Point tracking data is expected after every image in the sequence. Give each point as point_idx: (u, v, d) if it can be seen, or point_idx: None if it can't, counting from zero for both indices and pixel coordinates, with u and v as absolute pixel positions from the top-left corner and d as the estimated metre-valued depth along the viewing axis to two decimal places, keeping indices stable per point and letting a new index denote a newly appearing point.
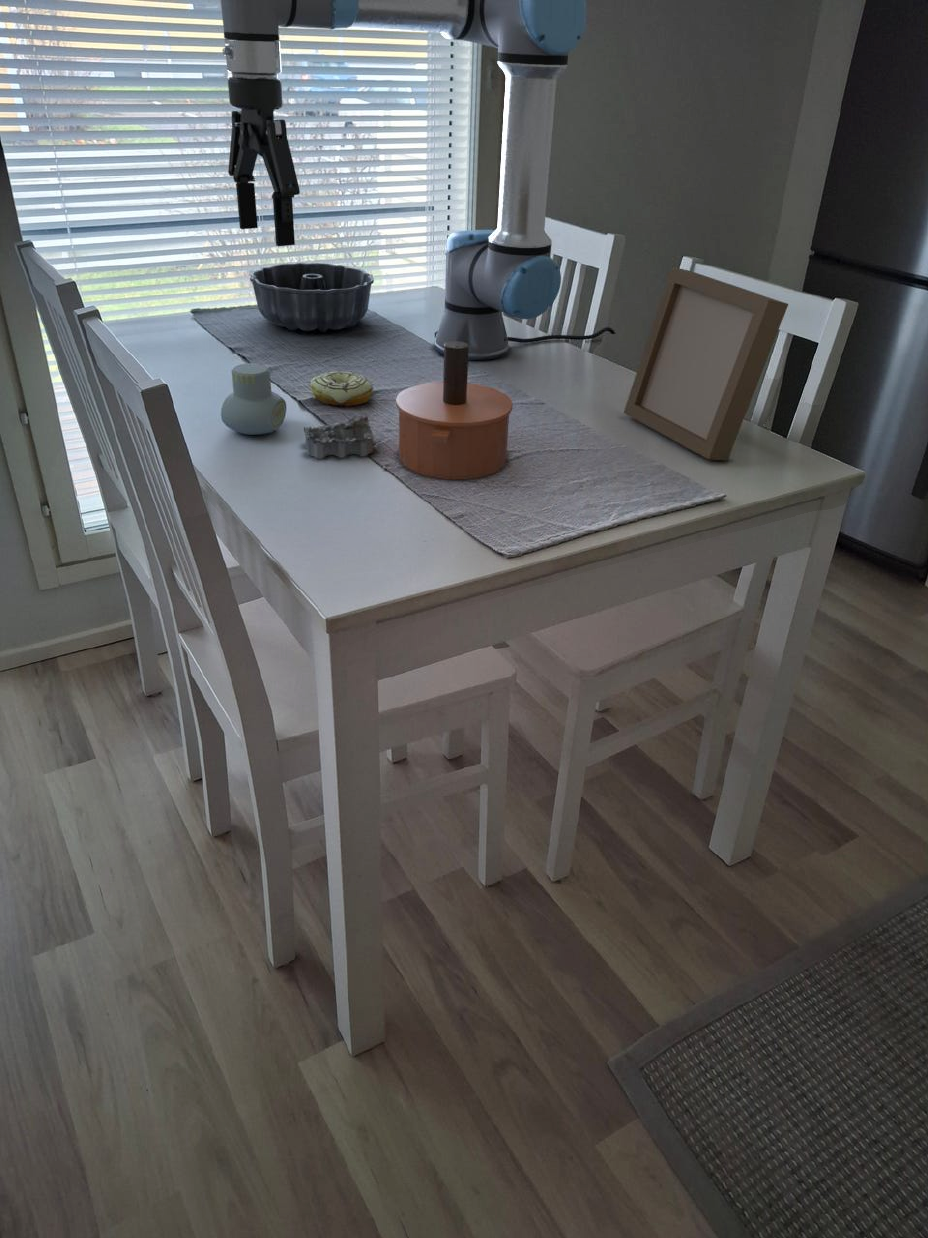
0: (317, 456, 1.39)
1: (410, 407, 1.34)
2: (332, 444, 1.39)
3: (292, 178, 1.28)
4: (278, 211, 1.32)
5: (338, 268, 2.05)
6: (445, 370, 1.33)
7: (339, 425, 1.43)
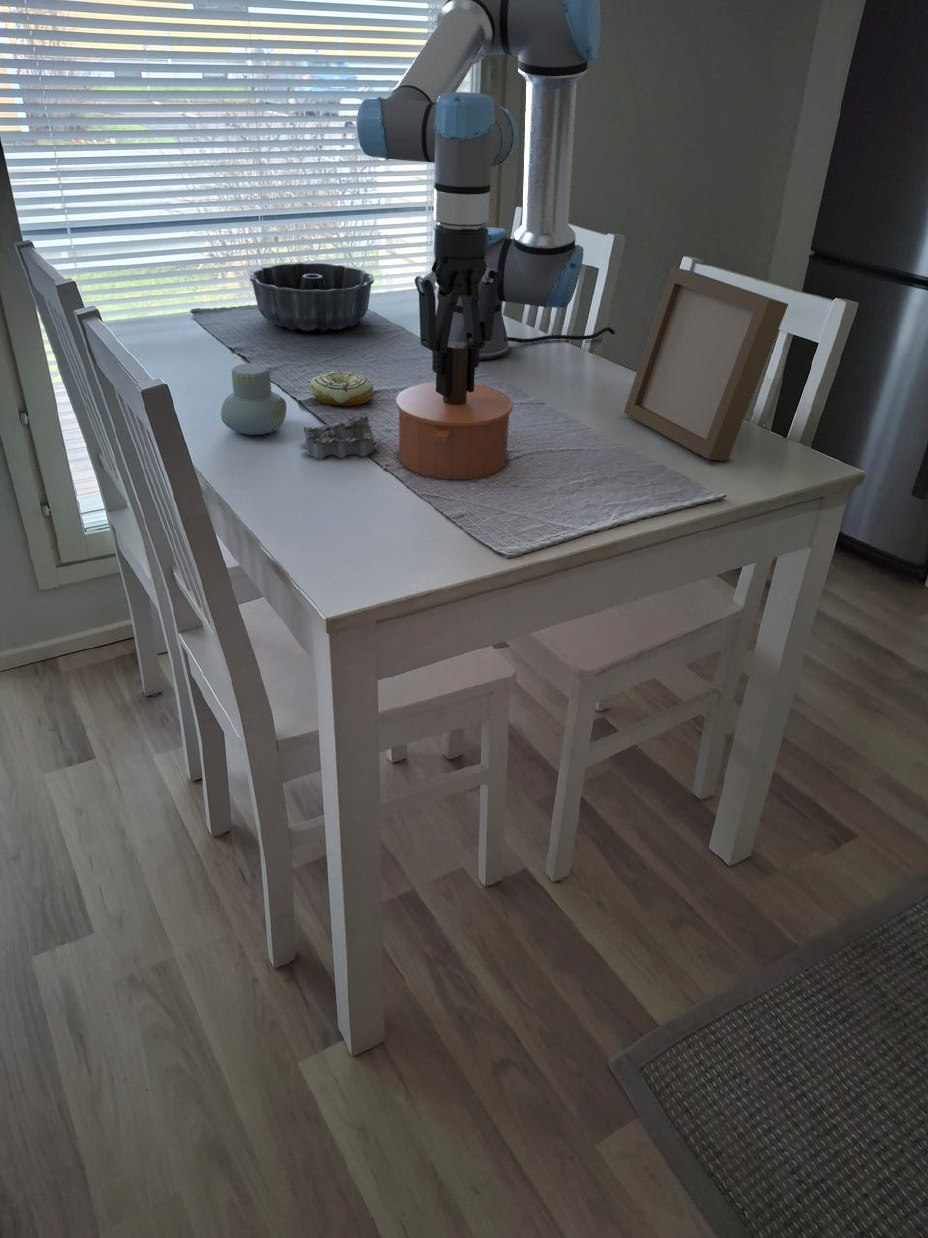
0: (317, 456, 1.39)
1: (410, 407, 1.34)
2: (332, 444, 1.39)
3: (426, 335, 1.28)
4: None
5: (338, 268, 2.05)
6: None
7: (339, 425, 1.43)
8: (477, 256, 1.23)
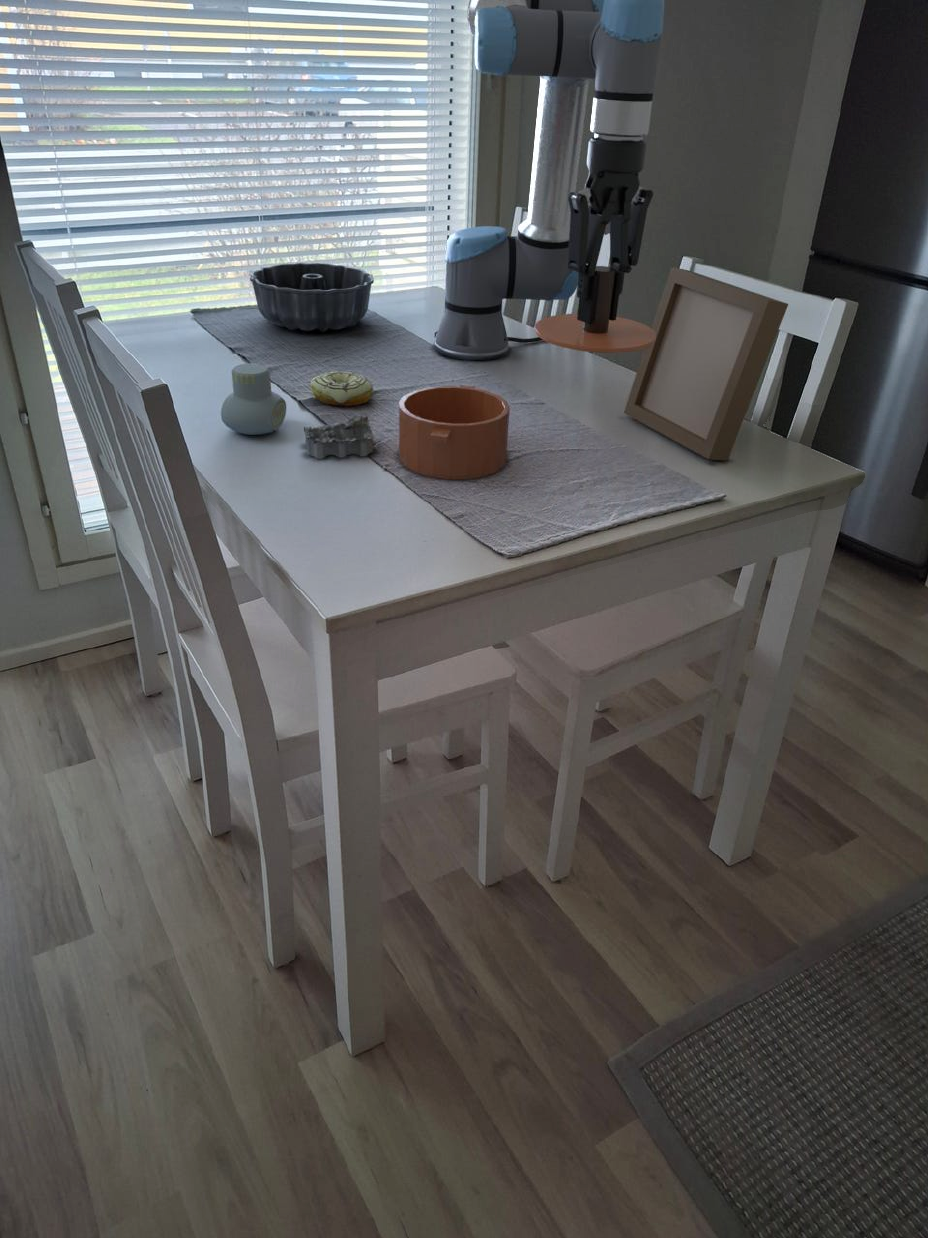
0: (317, 456, 1.39)
1: (552, 334, 1.28)
2: (332, 444, 1.39)
3: (576, 256, 1.23)
4: None
5: (338, 268, 2.05)
6: None
7: (339, 425, 1.43)
8: (636, 170, 1.17)
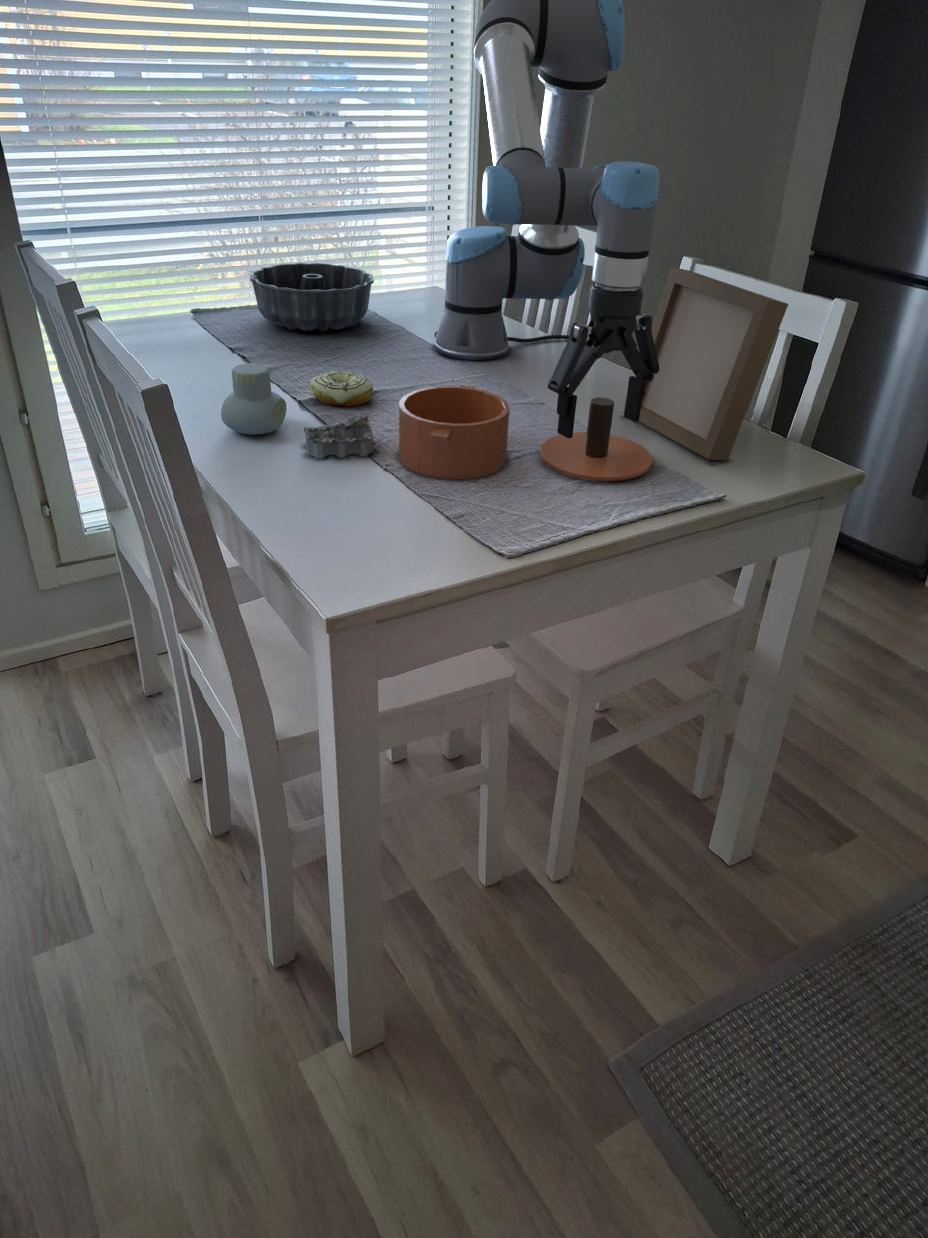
0: (317, 456, 1.39)
1: (556, 461, 1.39)
2: (332, 444, 1.39)
3: (559, 378, 1.30)
4: None
5: (338, 268, 2.05)
6: (590, 425, 1.39)
7: (339, 425, 1.43)
8: (633, 316, 1.28)
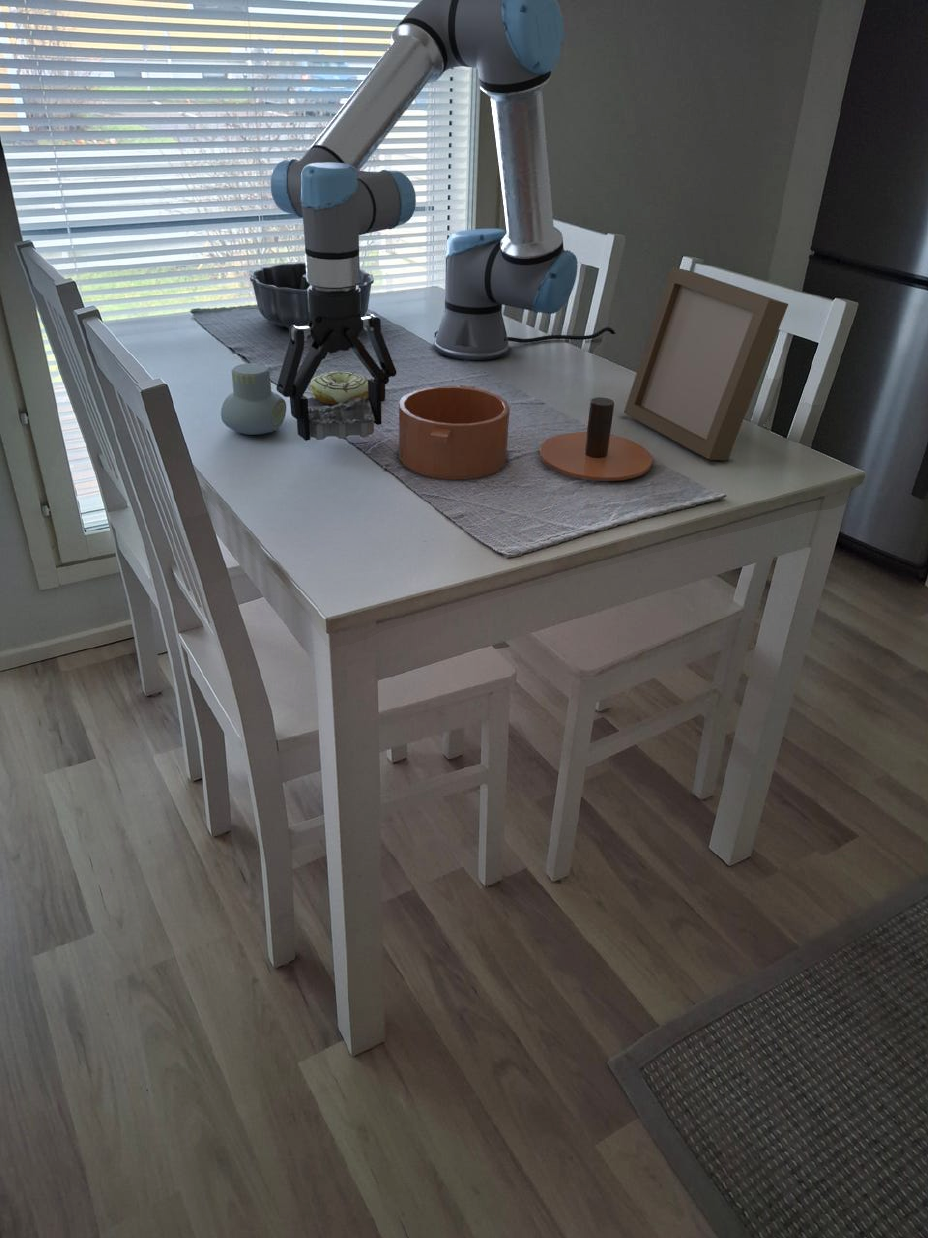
0: (317, 437, 1.37)
1: (556, 461, 1.39)
2: (332, 425, 1.38)
3: (284, 381, 1.31)
4: None
5: None
6: (590, 425, 1.39)
7: (339, 406, 1.42)
8: (349, 316, 1.28)
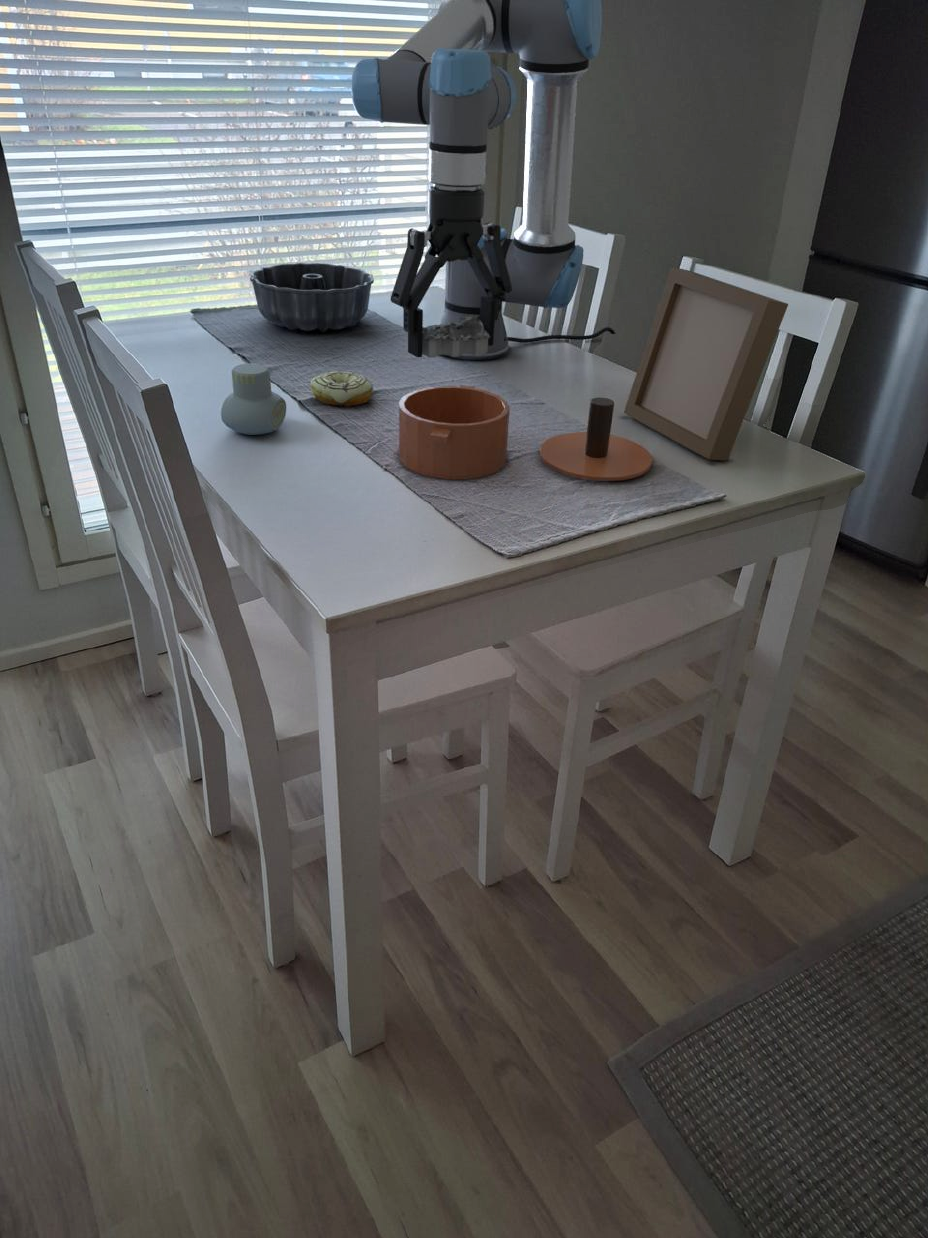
0: (429, 354, 1.29)
1: (556, 461, 1.39)
2: (445, 342, 1.30)
3: (400, 289, 1.23)
4: None
5: (338, 268, 2.05)
6: (590, 425, 1.39)
7: (449, 325, 1.34)
8: (473, 218, 1.20)
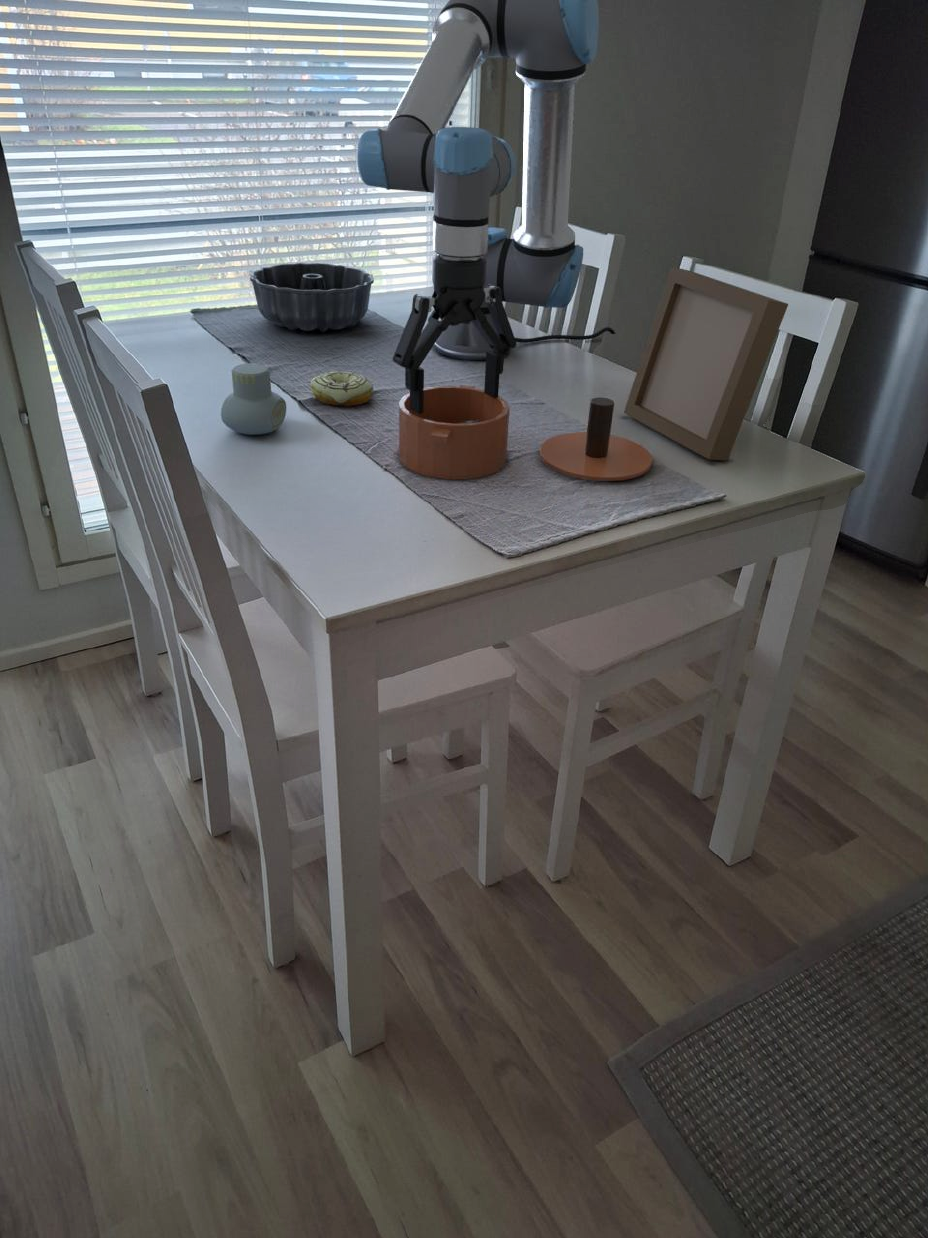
0: None
1: (556, 461, 1.39)
2: None
3: (403, 351, 1.27)
4: None
5: (338, 268, 2.05)
6: (590, 425, 1.39)
7: None
8: (476, 286, 1.25)
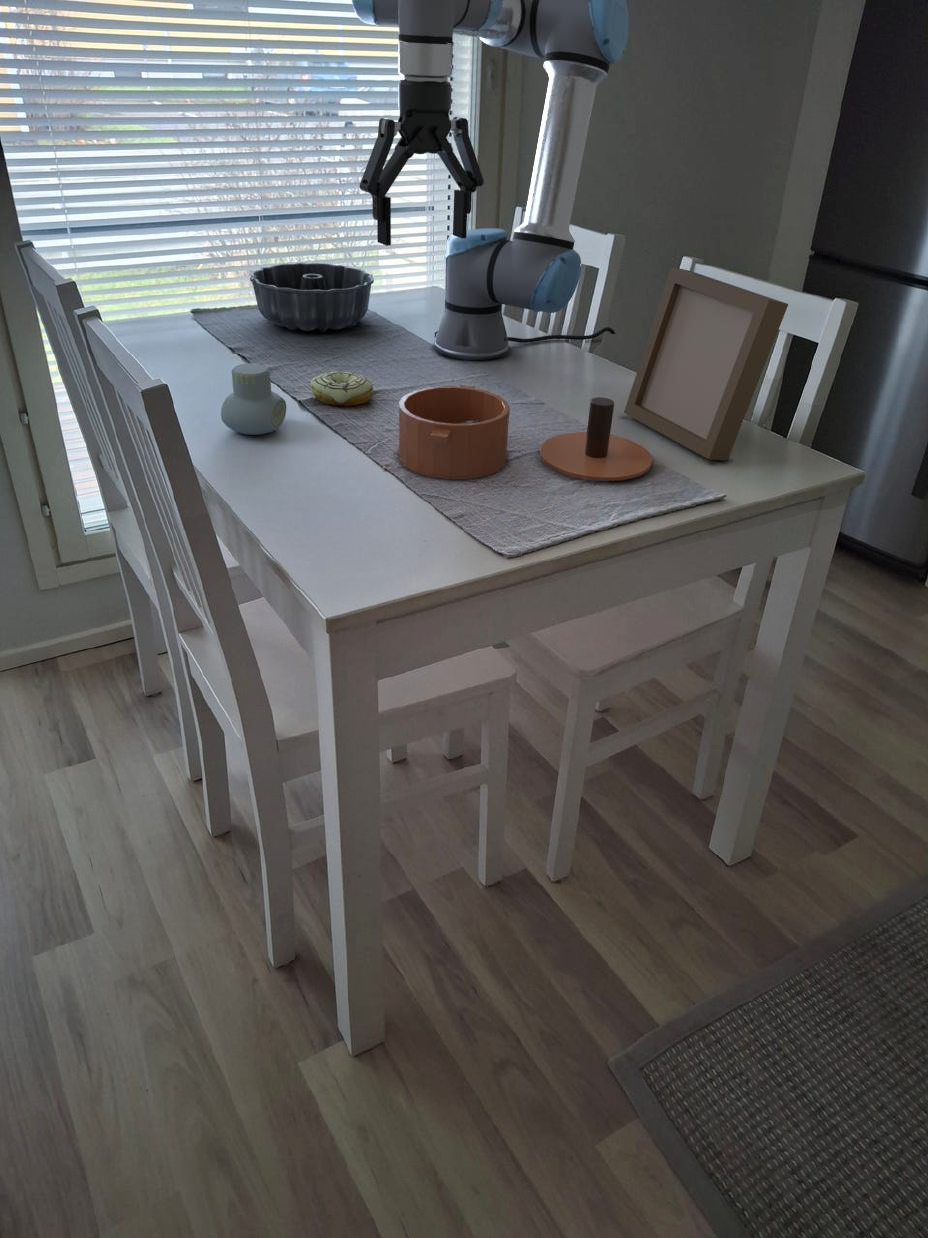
0: None
1: (556, 461, 1.39)
2: None
3: (369, 175, 1.29)
4: None
5: (338, 268, 2.05)
6: (590, 425, 1.39)
7: None
8: (440, 109, 1.27)
